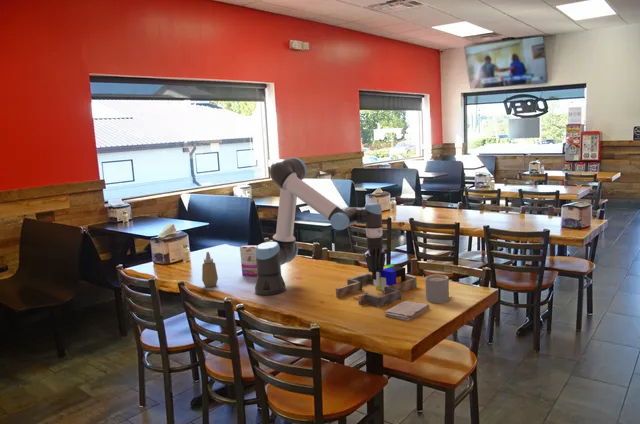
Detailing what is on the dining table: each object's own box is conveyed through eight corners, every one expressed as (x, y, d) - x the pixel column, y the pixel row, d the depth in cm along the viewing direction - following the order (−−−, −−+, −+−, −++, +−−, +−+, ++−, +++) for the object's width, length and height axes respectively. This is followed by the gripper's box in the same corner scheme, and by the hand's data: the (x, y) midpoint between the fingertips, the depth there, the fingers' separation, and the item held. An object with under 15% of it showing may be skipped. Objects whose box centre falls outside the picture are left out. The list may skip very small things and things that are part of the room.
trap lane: (372, 309, 226) (372, 297, 225) (326, 293, 251) (325, 283, 250) (428, 290, 247) (428, 279, 247) (380, 277, 273) (380, 267, 272)
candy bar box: (264, 274, 291) (262, 245, 289) (259, 276, 286) (257, 247, 284) (246, 273, 295) (244, 244, 293) (241, 275, 291) (239, 246, 288)
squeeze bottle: (221, 284, 276) (218, 250, 274) (212, 288, 269) (209, 254, 266) (209, 283, 280) (206, 250, 277) (199, 287, 273) (196, 253, 270)
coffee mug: (443, 304, 227) (443, 281, 225) (422, 301, 233) (421, 279, 231) (455, 295, 238) (454, 273, 236) (434, 292, 243) (434, 271, 242)
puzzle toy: (391, 293, 246) (391, 272, 244) (376, 289, 253) (375, 268, 252) (405, 288, 252) (405, 267, 251) (390, 284, 260) (389, 264, 258)
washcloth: (383, 317, 217) (383, 310, 216) (405, 305, 230) (404, 298, 230) (409, 323, 209) (408, 315, 209) (429, 309, 223) (429, 302, 223)
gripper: (369, 239, 238) (372, 290, 241) (390, 235, 246) (392, 284, 249) (358, 237, 244) (361, 287, 247) (379, 233, 252) (381, 281, 255)
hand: (376, 285), depth 248 cm, fingers closed
